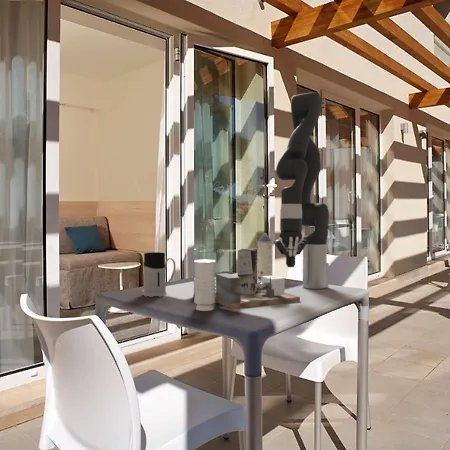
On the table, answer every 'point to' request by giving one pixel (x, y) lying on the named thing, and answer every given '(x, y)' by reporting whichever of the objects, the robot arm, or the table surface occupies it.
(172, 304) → the table surface
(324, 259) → the robot arm
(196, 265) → the candle
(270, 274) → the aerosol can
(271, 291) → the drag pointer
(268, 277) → the white block
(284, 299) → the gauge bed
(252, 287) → the coffee box
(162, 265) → the grey handled cylinder
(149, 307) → the table surface
